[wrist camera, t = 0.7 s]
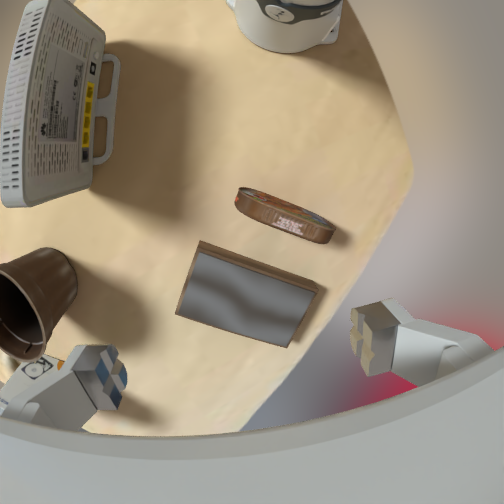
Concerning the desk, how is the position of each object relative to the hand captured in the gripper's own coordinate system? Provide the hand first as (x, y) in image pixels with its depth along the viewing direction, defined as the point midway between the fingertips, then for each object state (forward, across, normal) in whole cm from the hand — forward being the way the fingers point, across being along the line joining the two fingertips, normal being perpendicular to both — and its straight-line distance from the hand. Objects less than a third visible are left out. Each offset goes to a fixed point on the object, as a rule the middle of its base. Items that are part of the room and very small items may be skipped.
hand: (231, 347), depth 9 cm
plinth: (+37, 0, +16) cm, 41 cm away
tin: (+38, -7, +4) cm, 38 cm away
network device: (+37, +20, -19) cm, 46 cm away
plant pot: (+38, +36, +8) cm, 53 cm away
